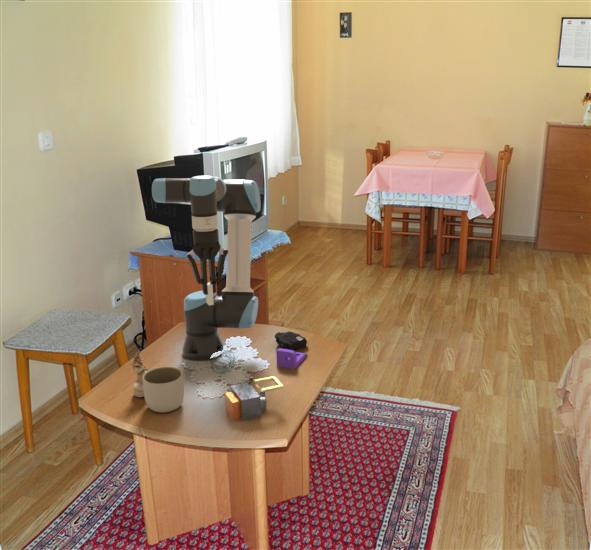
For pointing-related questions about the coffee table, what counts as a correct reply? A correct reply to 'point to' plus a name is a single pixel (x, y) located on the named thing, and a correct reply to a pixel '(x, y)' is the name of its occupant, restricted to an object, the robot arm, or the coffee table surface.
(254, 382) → the keeper
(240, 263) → the robot arm
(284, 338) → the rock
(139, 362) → the figurine
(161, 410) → the planter
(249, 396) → the block
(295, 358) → the bracket
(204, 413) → the coffee table surface
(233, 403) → the orange drawer
